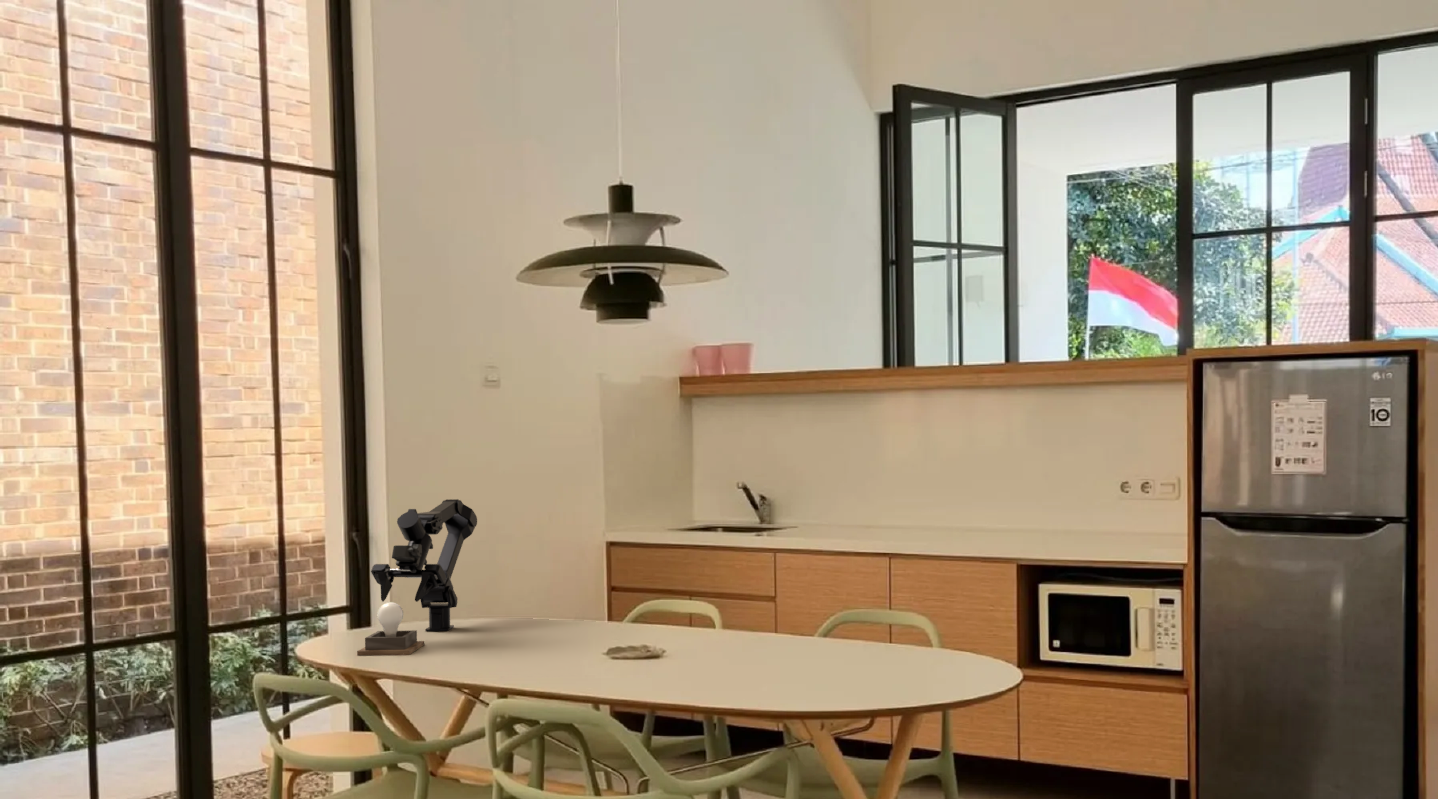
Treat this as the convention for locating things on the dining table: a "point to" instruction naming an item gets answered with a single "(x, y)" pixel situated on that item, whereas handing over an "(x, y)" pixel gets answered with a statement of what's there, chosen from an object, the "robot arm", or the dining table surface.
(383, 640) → the socket block
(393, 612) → the lightbulb
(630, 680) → the dining table surface
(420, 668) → the dining table surface
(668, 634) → the dining table surface
